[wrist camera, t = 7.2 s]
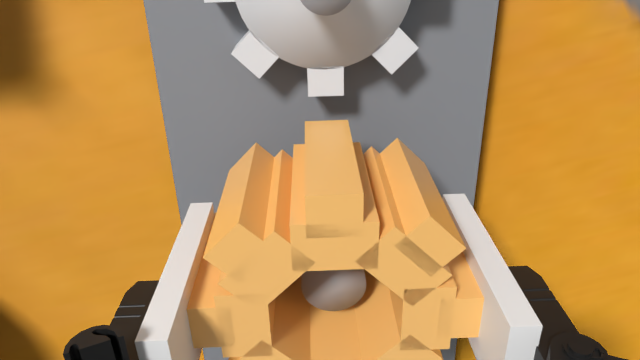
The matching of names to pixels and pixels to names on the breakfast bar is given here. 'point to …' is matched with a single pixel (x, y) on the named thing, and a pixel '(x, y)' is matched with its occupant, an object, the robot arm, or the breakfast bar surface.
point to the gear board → (321, 92)
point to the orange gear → (333, 256)
